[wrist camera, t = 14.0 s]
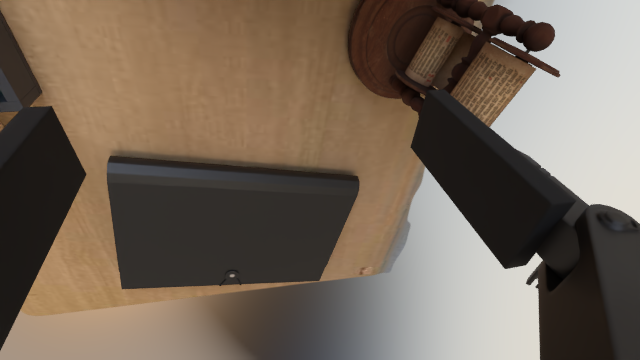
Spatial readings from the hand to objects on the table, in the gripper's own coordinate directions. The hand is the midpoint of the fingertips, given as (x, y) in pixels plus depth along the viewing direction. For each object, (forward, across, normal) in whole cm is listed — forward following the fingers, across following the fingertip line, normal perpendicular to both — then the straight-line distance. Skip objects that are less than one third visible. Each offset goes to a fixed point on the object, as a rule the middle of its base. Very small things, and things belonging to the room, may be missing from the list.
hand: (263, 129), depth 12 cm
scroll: (+27, +19, -4) cm, 33 cm away
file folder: (+27, -3, -33) cm, 43 cm away
